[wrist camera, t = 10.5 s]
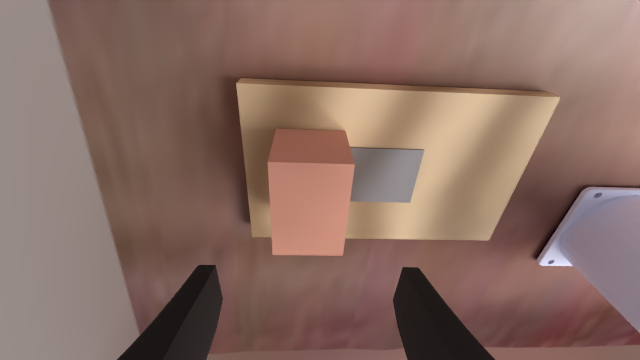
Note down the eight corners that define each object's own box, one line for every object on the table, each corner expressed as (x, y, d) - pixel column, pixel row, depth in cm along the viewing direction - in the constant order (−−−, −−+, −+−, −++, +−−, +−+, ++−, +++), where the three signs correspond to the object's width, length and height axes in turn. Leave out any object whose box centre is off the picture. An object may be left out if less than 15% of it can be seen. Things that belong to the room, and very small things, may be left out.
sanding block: (345, 130, 16) (354, 164, 13) (337, 211, 20) (342, 255, 16) (276, 128, 16) (267, 161, 13) (279, 210, 19) (272, 254, 16)
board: (545, 91, 17) (562, 97, 16) (481, 229, 23) (489, 241, 22) (240, 78, 16) (235, 83, 15) (254, 226, 22) (251, 237, 21)
